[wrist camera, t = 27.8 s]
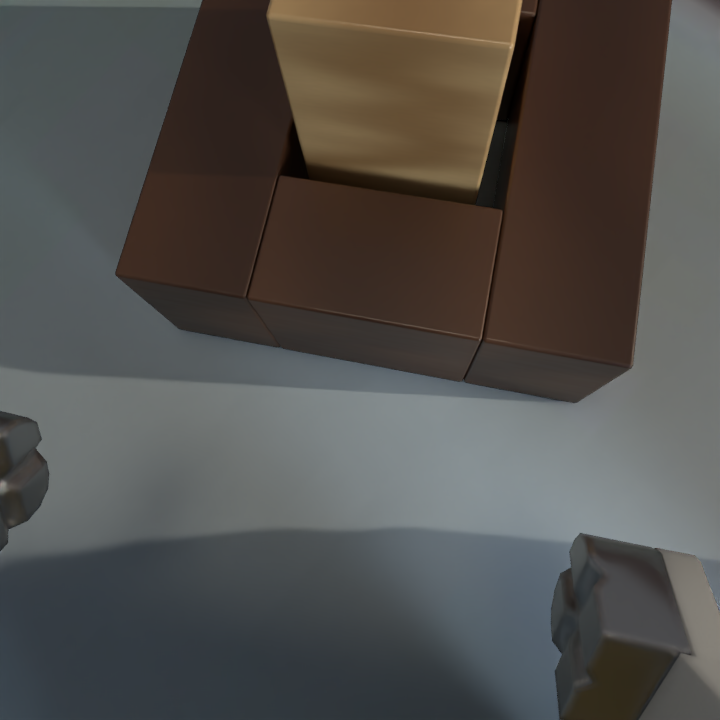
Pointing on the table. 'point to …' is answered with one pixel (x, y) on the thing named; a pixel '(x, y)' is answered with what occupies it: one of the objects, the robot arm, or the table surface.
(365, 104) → the peg
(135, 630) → the table surface
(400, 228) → the socket block
